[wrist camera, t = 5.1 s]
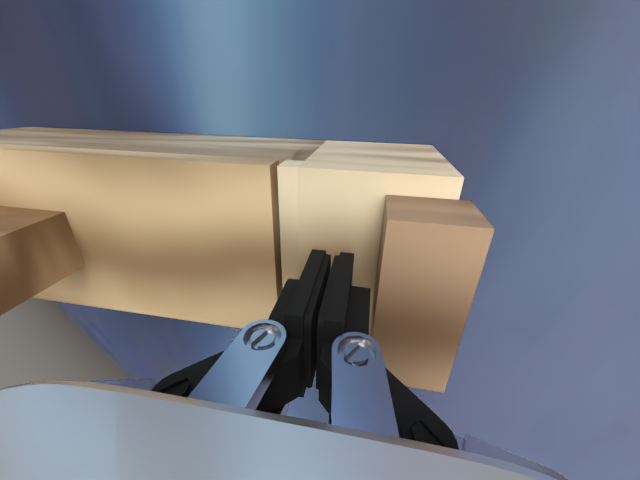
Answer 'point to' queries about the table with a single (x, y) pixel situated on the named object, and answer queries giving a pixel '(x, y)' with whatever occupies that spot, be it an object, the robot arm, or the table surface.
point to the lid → (141, 232)
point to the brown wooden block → (426, 284)
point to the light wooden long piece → (299, 184)
